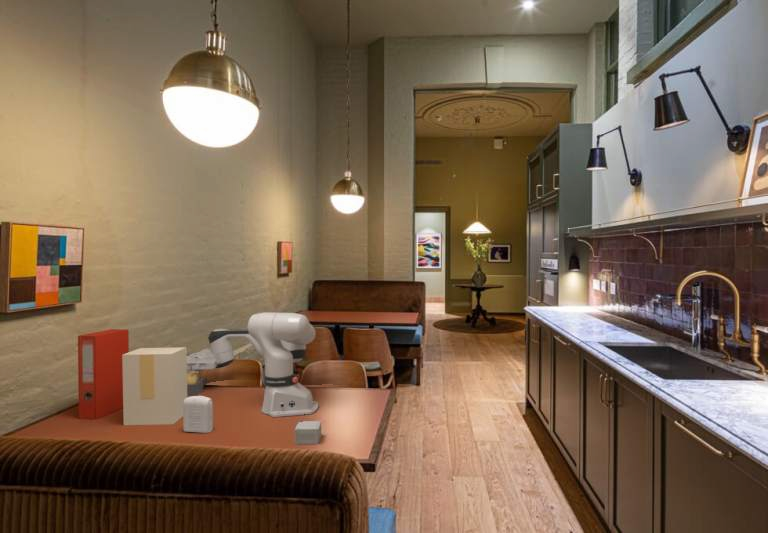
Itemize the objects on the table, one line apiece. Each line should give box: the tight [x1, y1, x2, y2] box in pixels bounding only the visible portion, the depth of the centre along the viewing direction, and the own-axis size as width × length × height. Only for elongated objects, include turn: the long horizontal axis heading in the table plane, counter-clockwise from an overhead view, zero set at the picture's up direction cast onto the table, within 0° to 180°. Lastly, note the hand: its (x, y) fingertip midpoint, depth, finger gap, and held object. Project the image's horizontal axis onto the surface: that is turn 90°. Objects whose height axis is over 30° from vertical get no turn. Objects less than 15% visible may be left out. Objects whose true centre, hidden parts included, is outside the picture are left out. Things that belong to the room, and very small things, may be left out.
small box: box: [294, 420, 322, 445], centre depth 152 cm, size 8×8×5 cm
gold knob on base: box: [187, 371, 208, 396], centre depth 214 cm, size 21×8×10 cm, turn 3°
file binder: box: [77, 328, 130, 421], centre depth 183 cm, size 8×17×32 cm, turn 170°
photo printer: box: [182, 395, 214, 434], centre depth 161 cm, size 10×4×12 cm, turn 81°
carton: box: [122, 346, 188, 426], centre depth 174 cm, size 18×13×26 cm
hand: (187, 368), depth 203 cm, fingers open, 3 cm apart
